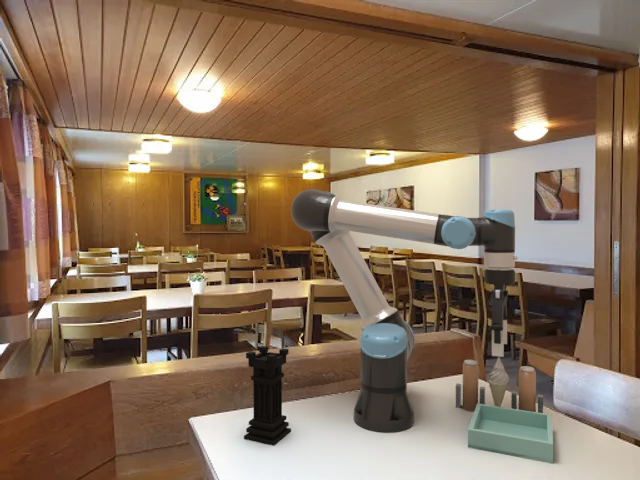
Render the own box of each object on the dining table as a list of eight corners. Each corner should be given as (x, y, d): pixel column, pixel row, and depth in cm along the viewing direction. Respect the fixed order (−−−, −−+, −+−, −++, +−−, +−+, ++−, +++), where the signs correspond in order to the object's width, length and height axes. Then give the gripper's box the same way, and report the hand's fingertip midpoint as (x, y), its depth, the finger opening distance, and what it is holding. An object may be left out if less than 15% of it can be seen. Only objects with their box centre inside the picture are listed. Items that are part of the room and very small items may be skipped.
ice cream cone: (511, 416, 122) (511, 358, 121) (491, 416, 122) (492, 358, 121) (503, 409, 127) (504, 353, 126) (485, 408, 127) (485, 353, 126)
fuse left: (461, 409, 126) (461, 362, 126) (463, 404, 130) (463, 358, 129) (477, 412, 125) (477, 364, 124) (478, 407, 128) (479, 360, 128)
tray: (467, 447, 105) (467, 429, 105) (477, 418, 120) (477, 403, 120) (553, 463, 98) (553, 444, 98) (551, 431, 113) (551, 414, 113)
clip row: (455, 407, 128) (455, 385, 128) (456, 404, 130) (456, 383, 129) (542, 421, 119) (543, 397, 119) (542, 418, 121) (543, 395, 120)
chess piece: (291, 431, 113) (290, 348, 112) (274, 445, 106) (273, 357, 105) (262, 425, 116) (262, 345, 116) (244, 439, 109) (243, 353, 108)
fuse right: (518, 418, 120) (518, 369, 120) (518, 413, 124) (519, 364, 124) (535, 421, 119) (535, 371, 118) (535, 415, 122) (536, 366, 122)
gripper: (512, 273, 110) (512, 363, 111) (517, 265, 133) (517, 340, 133) (478, 272, 113) (479, 360, 114) (489, 264, 136) (489, 337, 137)
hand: (499, 349), depth 124 cm, fingers open, 13 cm apart
